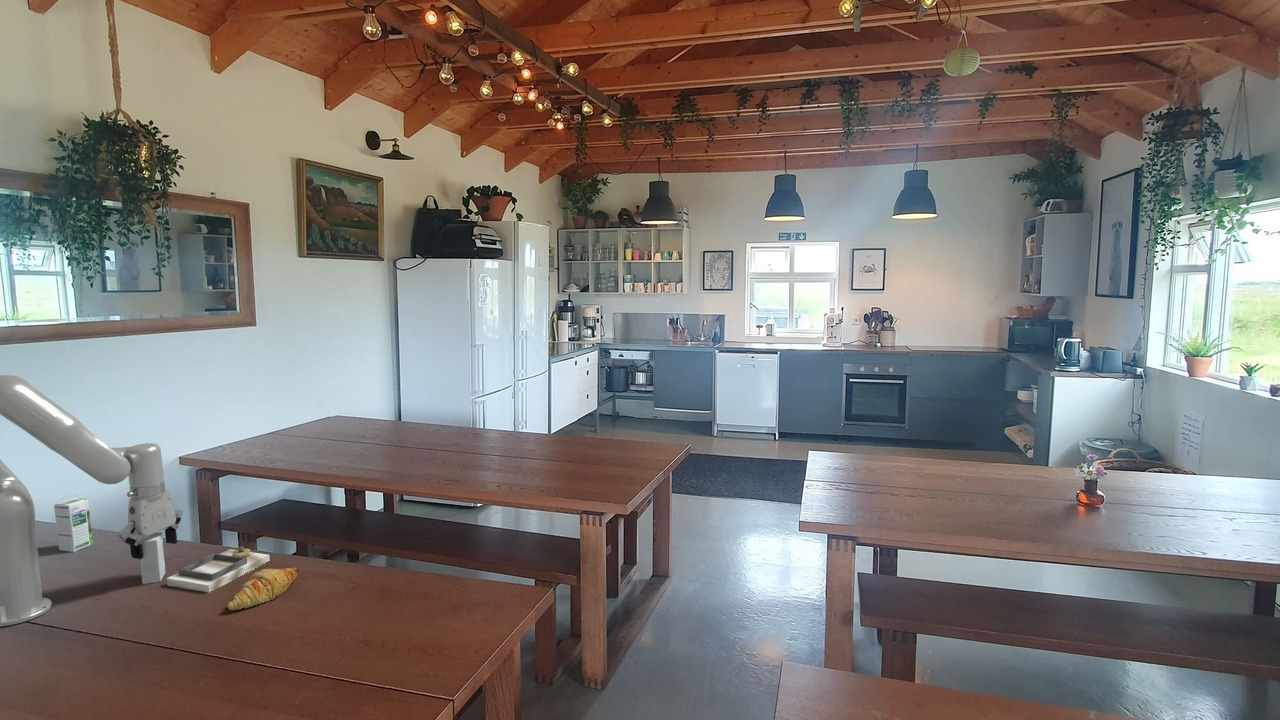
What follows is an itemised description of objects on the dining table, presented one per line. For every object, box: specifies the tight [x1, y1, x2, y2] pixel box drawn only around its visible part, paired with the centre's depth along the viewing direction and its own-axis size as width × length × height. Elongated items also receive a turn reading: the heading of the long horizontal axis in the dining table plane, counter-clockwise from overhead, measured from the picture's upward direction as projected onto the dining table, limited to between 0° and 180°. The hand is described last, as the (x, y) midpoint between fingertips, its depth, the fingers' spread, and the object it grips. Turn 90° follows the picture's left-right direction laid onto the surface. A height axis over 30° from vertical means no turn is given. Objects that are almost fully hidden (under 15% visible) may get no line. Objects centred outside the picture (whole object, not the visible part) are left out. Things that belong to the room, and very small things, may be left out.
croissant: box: [227, 567, 300, 611], centre depth 174 cm, size 21×10×8 cm, turn 163°
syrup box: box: [53, 497, 94, 553], centre depth 200 cm, size 6×6×14 cm
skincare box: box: [139, 531, 166, 585], centre depth 181 cm, size 6×4×12 cm
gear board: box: [166, 545, 271, 593], centre depth 185 cm, size 20×14×5 cm
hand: (155, 550), depth 181 cm, fingers open, 9 cm apart
